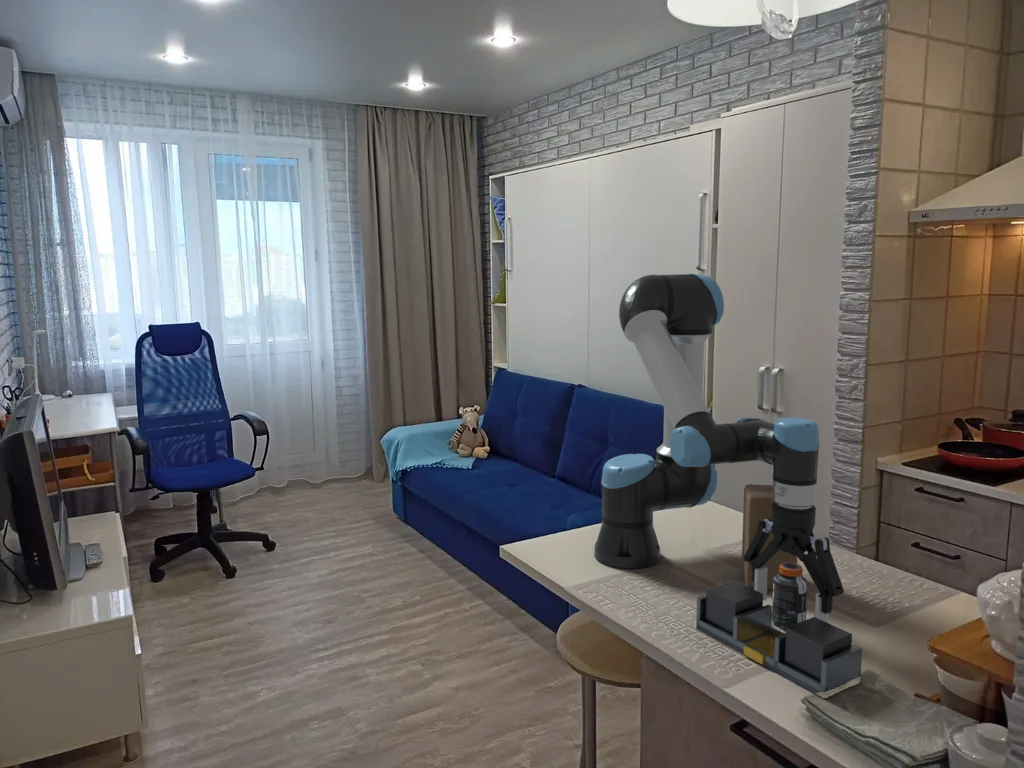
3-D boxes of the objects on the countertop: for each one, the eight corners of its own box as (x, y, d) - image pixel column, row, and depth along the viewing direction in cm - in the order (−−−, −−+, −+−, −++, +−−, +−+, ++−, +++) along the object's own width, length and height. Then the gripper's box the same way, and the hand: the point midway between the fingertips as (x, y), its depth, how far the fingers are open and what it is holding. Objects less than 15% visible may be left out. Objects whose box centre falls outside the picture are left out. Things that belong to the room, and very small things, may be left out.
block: (796, 593, 151) (801, 498, 148) (745, 589, 153) (748, 496, 150) (788, 574, 160) (792, 484, 158) (740, 570, 162) (743, 482, 160)
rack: (694, 629, 136) (695, 588, 135) (730, 617, 141) (731, 577, 139) (822, 700, 113) (825, 651, 112) (860, 683, 117) (863, 635, 116)
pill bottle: (812, 629, 135) (815, 570, 134) (783, 632, 134) (785, 573, 133) (793, 614, 141) (796, 558, 140) (765, 618, 140) (767, 561, 138)
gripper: (727, 490, 143) (724, 594, 146) (841, 526, 122) (835, 646, 125) (753, 484, 147) (750, 585, 150) (869, 518, 126) (863, 635, 129)
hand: (789, 613), depth 137 cm, fingers open, 13 cm apart
